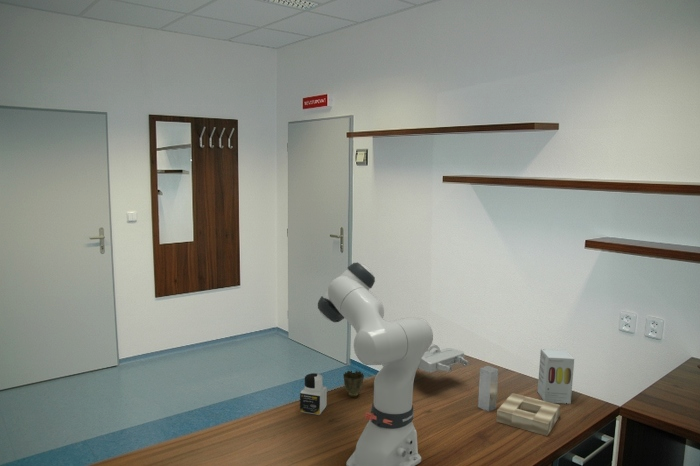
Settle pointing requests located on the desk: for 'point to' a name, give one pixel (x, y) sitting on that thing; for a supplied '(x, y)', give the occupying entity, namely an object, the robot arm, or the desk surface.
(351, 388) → the cup
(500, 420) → the square nut
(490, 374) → the steel peg
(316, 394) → the medicine bottle
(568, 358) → the supplement box
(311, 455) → the desk surface
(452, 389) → the desk surface
